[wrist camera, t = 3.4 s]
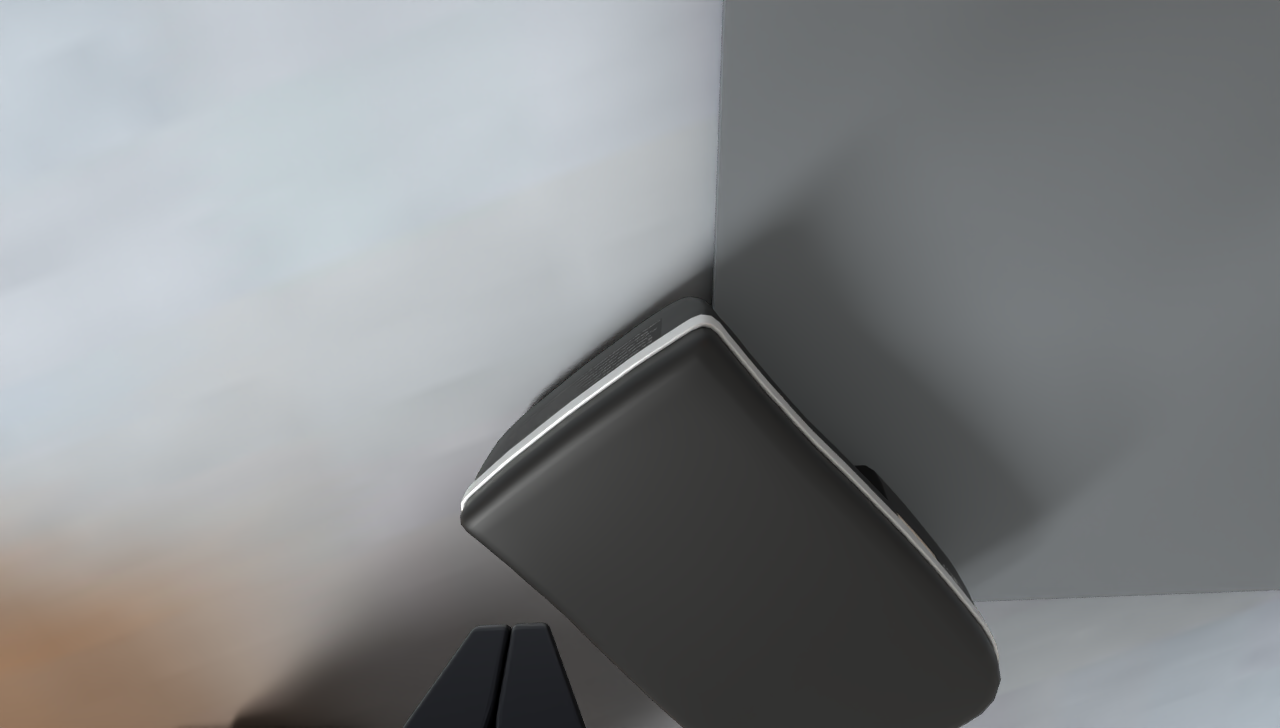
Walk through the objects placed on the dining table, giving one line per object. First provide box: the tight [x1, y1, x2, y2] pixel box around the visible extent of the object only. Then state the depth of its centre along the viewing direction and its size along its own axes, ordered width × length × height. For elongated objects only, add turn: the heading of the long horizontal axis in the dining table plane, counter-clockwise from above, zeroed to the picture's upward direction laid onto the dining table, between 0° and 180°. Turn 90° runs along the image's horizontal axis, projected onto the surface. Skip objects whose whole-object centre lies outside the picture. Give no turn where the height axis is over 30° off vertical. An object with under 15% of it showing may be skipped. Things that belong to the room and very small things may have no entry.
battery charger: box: [460, 297, 1001, 728], centre depth 18 cm, size 7×4×11 cm
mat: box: [712, 0, 1280, 602], centre depth 18 cm, size 18×16×1 cm
